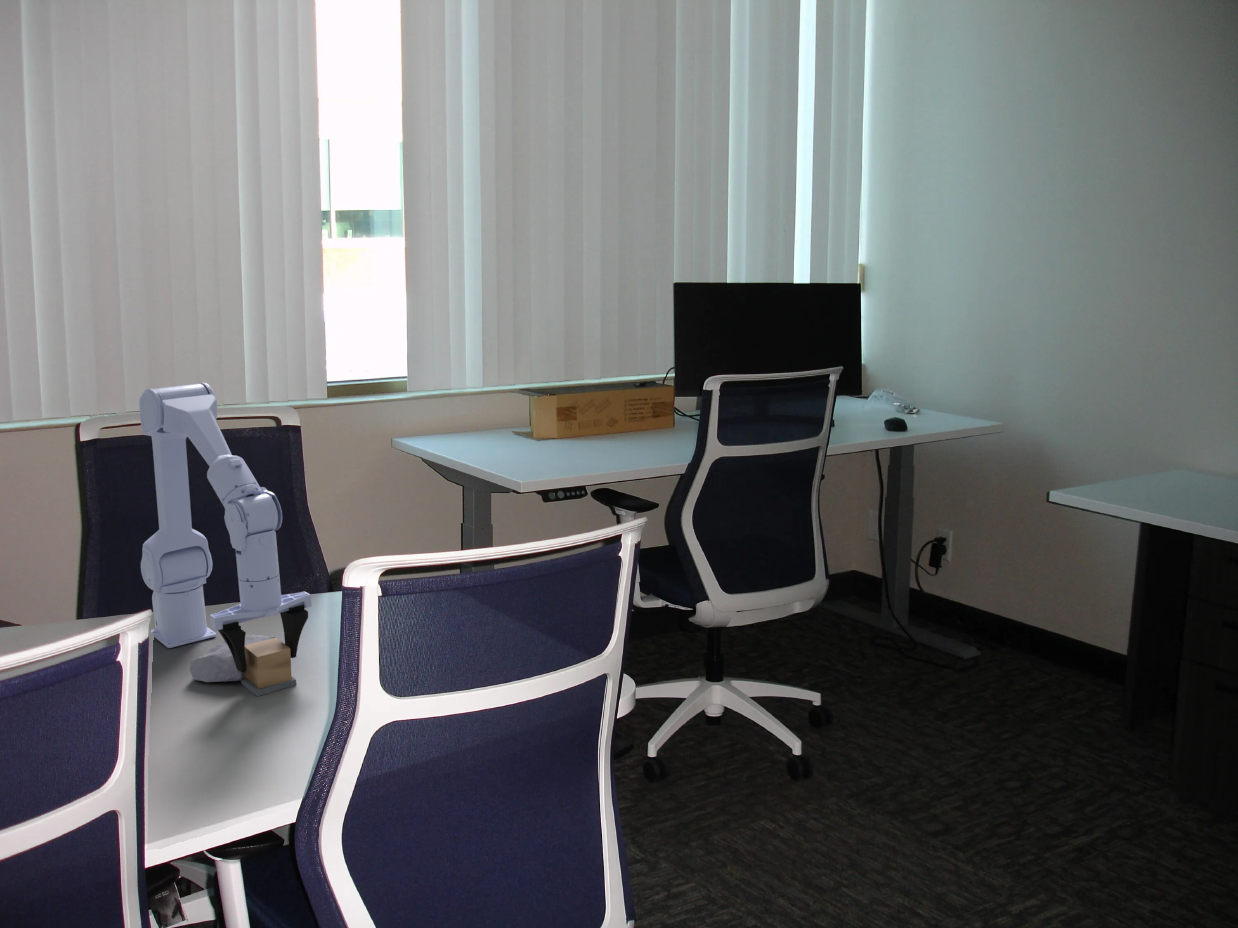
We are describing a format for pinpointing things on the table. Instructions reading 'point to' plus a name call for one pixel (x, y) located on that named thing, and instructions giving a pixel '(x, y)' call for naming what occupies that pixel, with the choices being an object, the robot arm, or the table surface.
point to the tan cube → (268, 662)
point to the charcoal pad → (268, 689)
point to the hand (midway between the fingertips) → (266, 662)
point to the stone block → (220, 663)
